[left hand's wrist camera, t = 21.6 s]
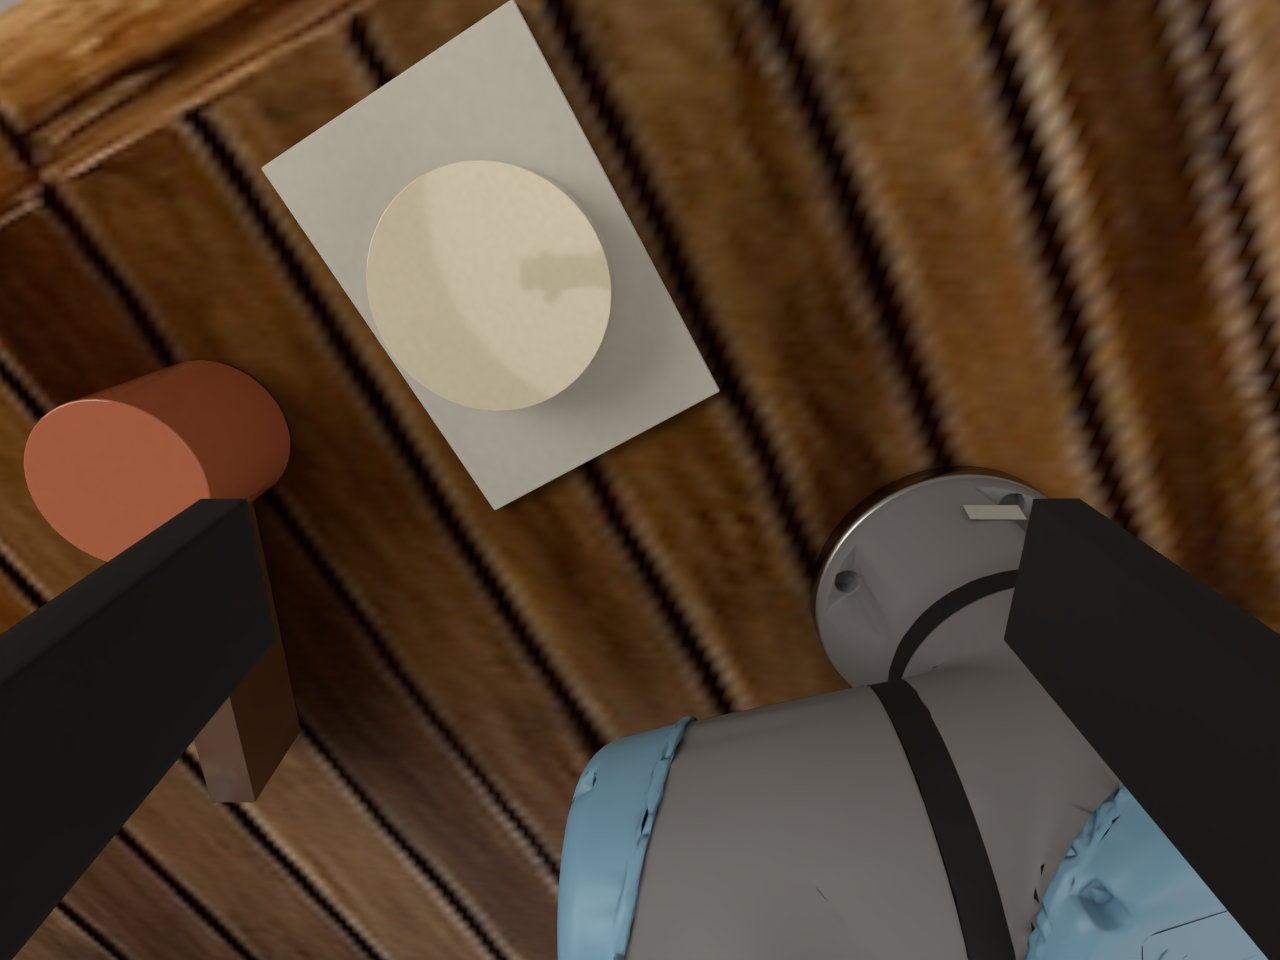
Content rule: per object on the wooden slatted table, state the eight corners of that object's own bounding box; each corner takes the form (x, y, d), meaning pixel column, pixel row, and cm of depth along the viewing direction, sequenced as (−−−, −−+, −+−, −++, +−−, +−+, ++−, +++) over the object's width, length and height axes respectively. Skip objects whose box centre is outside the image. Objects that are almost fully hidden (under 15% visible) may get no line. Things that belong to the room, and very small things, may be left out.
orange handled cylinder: (124, 359, 38) (-3, 398, 31) (276, 359, 38) (187, 398, 31) (219, 730, 47) (139, 831, 39) (344, 730, 47) (287, 831, 39)
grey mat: (718, 387, 39) (720, 391, 38) (497, 505, 41) (494, 511, 40) (515, 2, 32) (512, -3, 31) (268, 168, 35) (260, 168, 34)
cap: (653, 328, 37) (655, 340, 33) (472, 429, 39) (456, 450, 35) (538, 115, 33) (527, 107, 30) (345, 238, 35) (314, 243, 32)
